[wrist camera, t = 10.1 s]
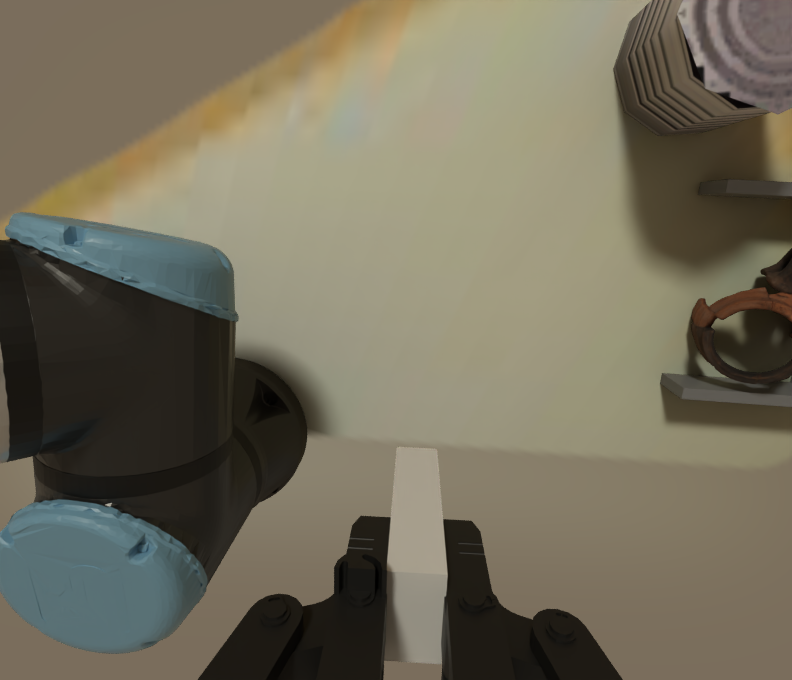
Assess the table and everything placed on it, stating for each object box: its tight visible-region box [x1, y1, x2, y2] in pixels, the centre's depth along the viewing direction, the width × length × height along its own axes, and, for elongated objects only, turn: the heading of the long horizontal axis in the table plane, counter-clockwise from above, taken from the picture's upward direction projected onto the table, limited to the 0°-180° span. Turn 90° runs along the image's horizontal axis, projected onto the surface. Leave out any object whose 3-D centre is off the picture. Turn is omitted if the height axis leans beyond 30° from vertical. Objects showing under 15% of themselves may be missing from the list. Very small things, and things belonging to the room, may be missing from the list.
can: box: [613, 0, 792, 136], centre depth 34 cm, size 11×11×12 cm
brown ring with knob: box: [691, 248, 792, 384], centre depth 41 cm, size 12×10×8 cm
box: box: [660, 179, 792, 407], centre depth 41 cm, size 12×18×4 cm
